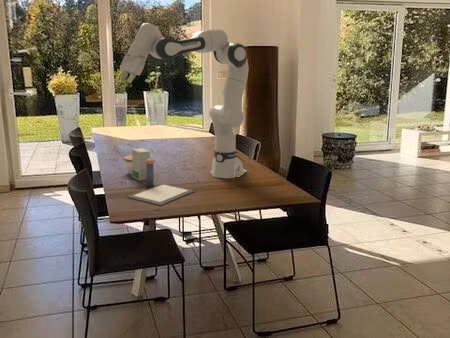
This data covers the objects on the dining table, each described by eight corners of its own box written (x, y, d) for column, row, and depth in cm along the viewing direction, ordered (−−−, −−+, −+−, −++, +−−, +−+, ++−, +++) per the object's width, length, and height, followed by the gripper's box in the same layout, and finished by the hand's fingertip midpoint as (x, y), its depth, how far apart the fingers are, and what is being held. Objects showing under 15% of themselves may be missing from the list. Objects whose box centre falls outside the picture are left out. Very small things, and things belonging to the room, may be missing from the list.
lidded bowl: (142, 177, 254) (142, 157, 251) (120, 175, 256) (120, 155, 253) (150, 171, 266) (150, 152, 263) (130, 169, 268) (129, 150, 265)
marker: (149, 184, 241) (149, 158, 238) (155, 185, 239) (155, 159, 236) (144, 185, 238) (144, 160, 234) (150, 187, 236) (150, 161, 233)
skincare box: (131, 177, 253) (131, 149, 249) (142, 175, 257) (142, 147, 253) (139, 180, 246) (139, 152, 242) (150, 178, 251) (150, 150, 247)
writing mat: (162, 184, 241) (162, 183, 240) (194, 191, 231) (194, 190, 230) (127, 197, 219) (127, 195, 219) (160, 205, 209) (160, 203, 209)
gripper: (151, 59, 214) (138, 86, 214) (135, 57, 231) (123, 82, 231) (139, 52, 211) (127, 80, 211) (124, 51, 227) (112, 76, 227)
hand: (125, 81), depth 221 cm, fingers open, 8 cm apart
